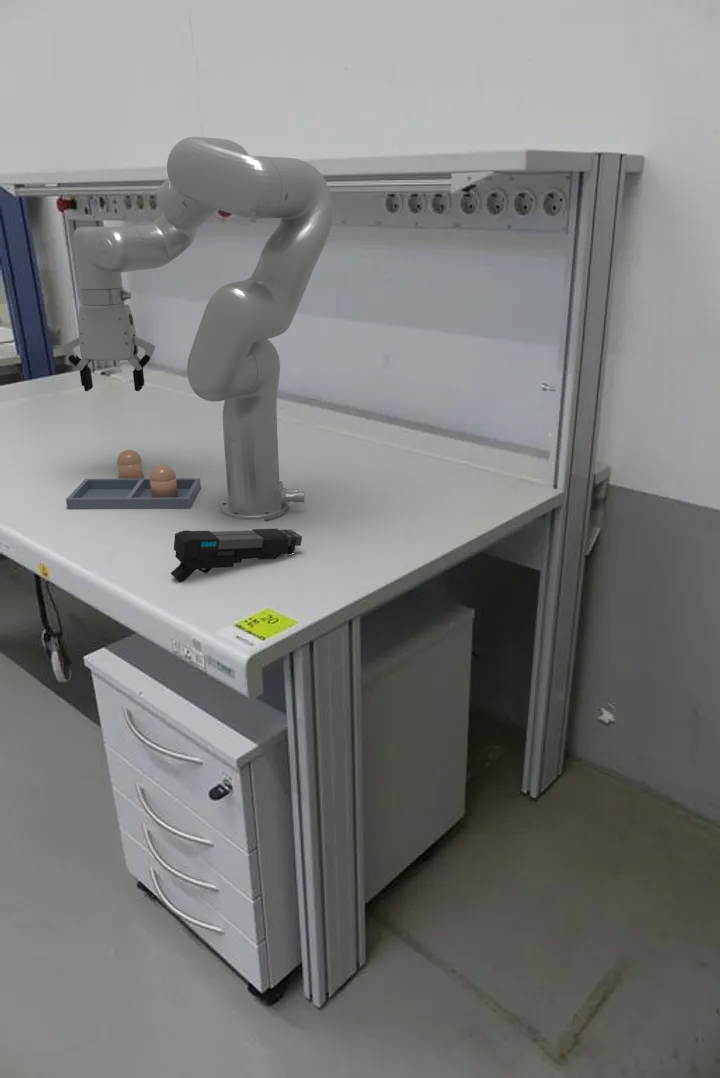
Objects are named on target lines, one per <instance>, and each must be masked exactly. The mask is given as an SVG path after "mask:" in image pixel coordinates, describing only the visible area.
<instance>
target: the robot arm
mask: <svg viewBox="0 0 720 1078" xmlns="http://www.w3.org/2000/svg"><path fill="white" fill-rule="evenodd" d="M166 170H167V171H166V174H167V177H168V178H167V179H166V180H165V181H164V182H163V183H161V185H160V186H159V187H158V190H157V193H156V194H157V195H156V199H157V204H158V207H159V209H160V212H161V213H162V214H161V215H160V216H159V217H158V218H156V219H155V220H154V221H152V222H151V223H149V224H147V225H146V224H142V225H141V224H140V225H139V224H138V225H124V226H123V225H122V226H109V227H108V226H96V225H95V226H80V227H77V228H76V229H75V230H74V232H73V236H72V237H73V244H74V251H75V252H74V253H75V260H76V268H77V274H78V275H77V276H78V282H79V290H80V297H81V305H79V306H78V318H77V321H78V323H77V324H78V325H77V327H78V330H77V331H78V332H77V333H78V337H76V338H75V339H73V340H72V341H70V342H68V343H66V344H64V345H62V347H61V349H62V351H63V352H64V354H65V356H66V357H67V358H68V361H69V362H70V363H71V364H73V366H74V367H76V369H77V371H79V375H80V377H79V378H80V383H81V386H82V387H83V389H84V392H89V391H90V390H92V389H93V388H94V384H93V376H92V375H93V374H92V369H91V368H90V367H89V364H90V363H91V361H97V362H101V361H104V362H105V361H106V362H107V361H127V362H128V363H129V364H130V365H132V367H133V369H134V370H132V376H133V385H134V391H136V392H140V391H141V390H142V389H143V387H145V377H144V375H145V374H144V368H145V366H146V365H147V364H148V363H149V362H150V361H151V360H152V356H153V355H154V352H155V349H156V346H155V344H153V343H151V342H148V341H146V340H144V339H142V338H140V337H138V336H137V332H136V327H135V321H134V317H133V313H132V309H131V306H130V304H125V303H126V300H132V292H131V291H127V290H125V289H124V287H123V279H122V273H126V272H127V273H129V272H134V271H145V270H153V269H159V268H162V267H163V266H165V265H168V264H169V263H170V262H172V261H173V260H175V259H176V258H178V257H179V256H180V255H181V254H183V253H184V252H186V250H187V249H188V248H190V246H191V245H192V244H193V242H194V239H195V237H196V235H197V232H198V228H200V226H201V225H203V224H205V222H207V221H208V220H209V219H210V218H212V217H213V216H214V215H215V214H217V213H218V212H219V211H223V212H225V213H227V214H230V215H231V214H232V215H233V216H237V217H241V218H245V219H250V220H251V219H252V220H266V219H268V220H269V219H280V221H279V224H278V226H277V227H276V228H275V230H274V231H273V233H272V234H271V235H270V236H269V237H268V238H267V241H265V243H264V246H263V247H262V250H261V253H260V255H259V258H258V262H257V264H256V266H255V268H254V270H253V272H252V274H251V276H249V277H248V278H247V279H245V280H239V281H233V282H231V283H227V284H224V285H222V286H221V287H219V289H217V290H216V291H215V292H214V294H212V296H211V297H210V298H209V300H208V302H207V304H206V306H205V308H204V311H203V313H202V314H203V315H202V317H201V320H200V323H199V326H198V327H197V332H196V334H195V337H194V339H193V342H192V346H191V349H190V352H189V354H188V355H189V356H188V359H187V365H186V367H187V368H186V372H187V374H186V375H187V379H188V383H189V386H190V387H191V389H192V391H193V393H195V394H196V395H197V396H198V397H199V398H200V399H202V400H204V401H208V402H213V403H214V402H215V403H216V402H217V403H218V402H222V401H224V403H223V409H222V431H223V445H224V447H223V448H224V461H225V476H226V487H227V488H226V489H227V498H225V499H224V500H222V501H221V503H220V504H219V510H220V512H221V513H222V515H225V516H226V517H229V518H232V519H237V520H245V521H246V520H249V521H250V520H254V521H255V520H264V521H268V520H273V519H276V518H279V517H281V516H283V515H285V513H287V512H288V511H289V509H290V503H305V491H299V490H300V489H299V488H289V489H287V488H286V487H283V486H284V483H283V481H282V480H280V468H279V467H280V466H279V465H280V464H279V444H278V443H279V442H278V441H279V440H278V438H279V437H278V411H277V410H278V409H277V408H278V407H277V404H278V402H277V400H278V399H277V398H278V391H279V389H278V388H279V381H280V375H281V360H280V355H279V352H278V350H277V348H276V346H275V345H274V344H273V342H272V341H270V340H269V339H273V338H276V337H278V336H281V335H283V334H284V333H286V331H288V329H289V328H290V326H291V324H292V322H293V321H294V318H295V315H296V313H297V311H298V309H299V306H300V304H301V301H302V299H303V296H304V295H305V292H306V289H307V287H308V285H309V282H310V279H311V276H312V274H313V272H314V269H315V268H316V265H317V262H318V261H319V258H320V256H321V254H322V251H323V249H324V248H325V246H326V243H327V240H328V238H329V236H330V233H331V229H332V224H333V219H334V203H333V198H332V197H333V196H332V192H331V191H330V187H329V185H328V183H327V180H326V179H325V177H324V176H323V174H322V173H321V172H320V171H319V170H318V169H317V167H315V166H313V164H311V163H308V162H307V161H304V160H303V159H298V158H293V157H286V156H285V157H282V156H281V157H280V156H263V155H251V154H249V153H248V152H247V151H246V149H245V148H244V147H243V146H242V145H240V144H239V143H237V142H235V141H233V140H231V139H230V140H229V139H226V138H217V137H215V138H214V137H202V136H189V137H186V138H183V139H181V140H180V141H178V142H177V143H176V144H175V145H174V146H173V148H172V149H171V150H170V153H169V155H168V158H167V162H166ZM78 346H79V352H80V355H81V358H80V357H79V356H78V355H77V354H76V353H75V351H74V348H76V347H78ZM139 347H140V348H142V349H143V350H144V351H145V352H144V355H143V357H142V358H140V357H139V355H138V354H139Z"/></svg>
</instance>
